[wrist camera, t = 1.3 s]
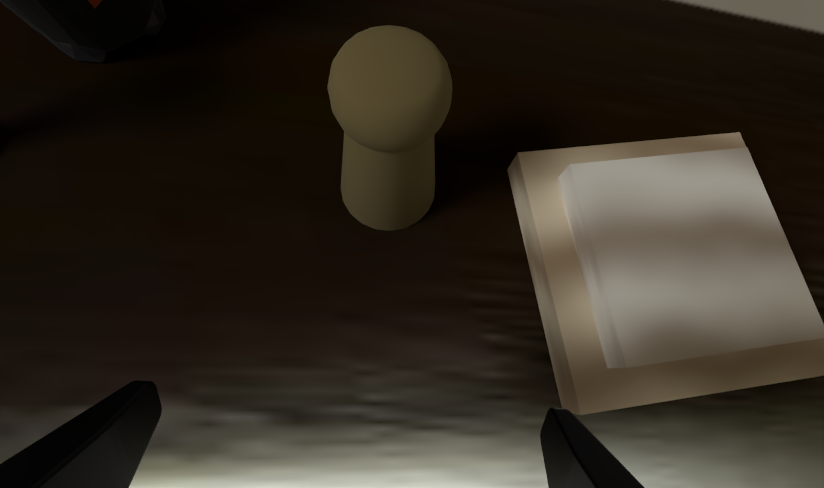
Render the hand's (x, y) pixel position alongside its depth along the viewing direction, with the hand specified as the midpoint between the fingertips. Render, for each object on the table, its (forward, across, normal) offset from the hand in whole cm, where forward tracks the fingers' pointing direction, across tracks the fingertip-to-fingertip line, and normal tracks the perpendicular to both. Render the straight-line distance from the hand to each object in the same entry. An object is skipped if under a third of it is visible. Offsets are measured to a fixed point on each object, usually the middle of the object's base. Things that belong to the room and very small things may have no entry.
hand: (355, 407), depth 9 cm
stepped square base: (+15, -16, +4) cm, 23 cm away
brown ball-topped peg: (+18, 0, +1) cm, 18 cm away
